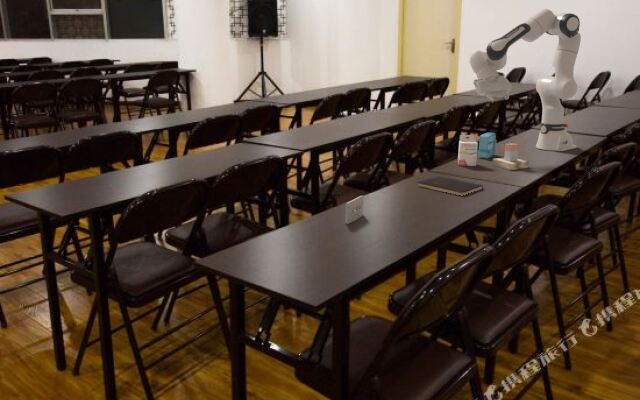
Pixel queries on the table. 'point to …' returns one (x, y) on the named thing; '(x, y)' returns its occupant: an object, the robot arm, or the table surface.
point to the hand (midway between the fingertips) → (500, 99)
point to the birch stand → (510, 164)
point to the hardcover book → (450, 185)
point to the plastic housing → (511, 152)
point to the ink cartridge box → (467, 151)
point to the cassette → (353, 213)
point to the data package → (487, 145)
